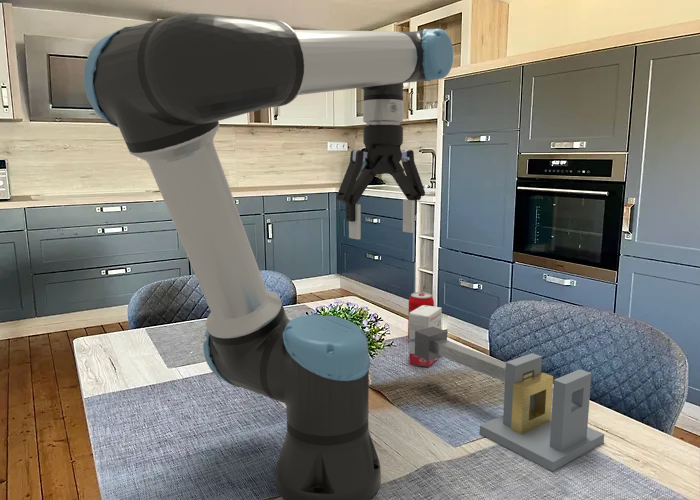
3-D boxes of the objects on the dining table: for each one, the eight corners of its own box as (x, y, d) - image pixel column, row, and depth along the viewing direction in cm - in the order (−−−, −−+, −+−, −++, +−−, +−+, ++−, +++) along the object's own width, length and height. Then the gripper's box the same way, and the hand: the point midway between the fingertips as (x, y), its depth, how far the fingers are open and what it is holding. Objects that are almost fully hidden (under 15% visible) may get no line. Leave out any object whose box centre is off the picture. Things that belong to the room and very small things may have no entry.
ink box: (428, 368, 122) (429, 316, 120) (407, 364, 124) (407, 313, 122) (442, 355, 129) (443, 306, 127) (421, 352, 132) (422, 304, 130)
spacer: (521, 434, 90) (523, 388, 89) (511, 429, 92) (513, 384, 91) (550, 420, 95) (553, 376, 94) (540, 416, 97) (543, 372, 95)
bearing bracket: (552, 471, 83) (557, 392, 80) (479, 433, 94) (482, 363, 92) (603, 442, 91) (609, 370, 88) (530, 410, 102) (534, 345, 100)
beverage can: (405, 344, 137) (406, 296, 135) (410, 336, 143) (411, 290, 141) (430, 346, 136) (432, 298, 134) (434, 338, 141) (435, 292, 139)
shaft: (517, 398, 92) (518, 370, 91) (414, 354, 112) (415, 331, 111) (535, 390, 95) (537, 363, 94) (432, 349, 115) (433, 326, 114)
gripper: (340, 121, 95) (341, 244, 99) (444, 125, 110) (441, 231, 113) (317, 123, 101) (318, 238, 105) (418, 126, 116) (416, 227, 119)
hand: (382, 235), depth 109 cm, fingers open, 13 cm apart
